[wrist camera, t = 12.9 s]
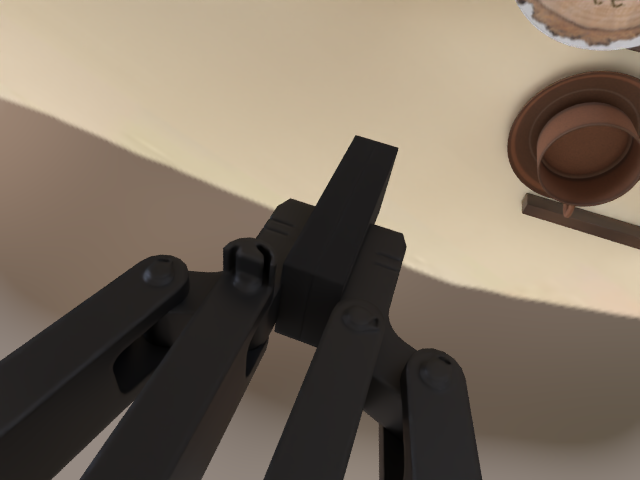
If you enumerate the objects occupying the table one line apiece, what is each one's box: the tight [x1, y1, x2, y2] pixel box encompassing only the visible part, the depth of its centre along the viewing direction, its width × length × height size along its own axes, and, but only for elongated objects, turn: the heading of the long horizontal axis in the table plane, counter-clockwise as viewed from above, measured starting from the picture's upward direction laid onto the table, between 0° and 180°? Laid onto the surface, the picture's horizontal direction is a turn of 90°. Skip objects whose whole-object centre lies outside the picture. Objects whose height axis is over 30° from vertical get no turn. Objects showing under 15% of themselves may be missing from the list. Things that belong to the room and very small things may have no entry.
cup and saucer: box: [507, 71, 640, 218], centre depth 38 cm, size 12×12×6 cm
